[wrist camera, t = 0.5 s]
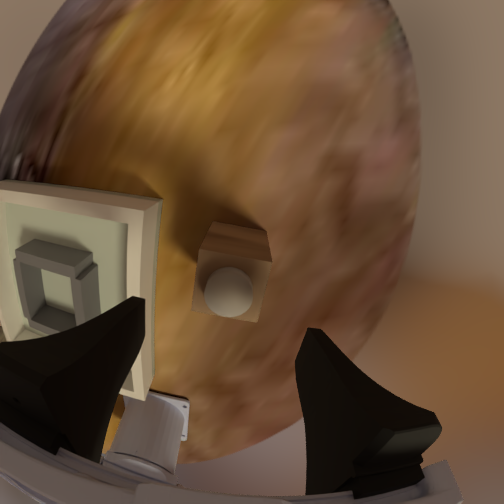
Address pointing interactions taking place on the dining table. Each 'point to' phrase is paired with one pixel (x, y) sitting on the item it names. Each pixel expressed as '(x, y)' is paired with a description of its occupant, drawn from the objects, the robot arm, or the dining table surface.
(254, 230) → the peg
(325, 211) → the dining table surface
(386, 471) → the robot arm
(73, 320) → the cream square tray
